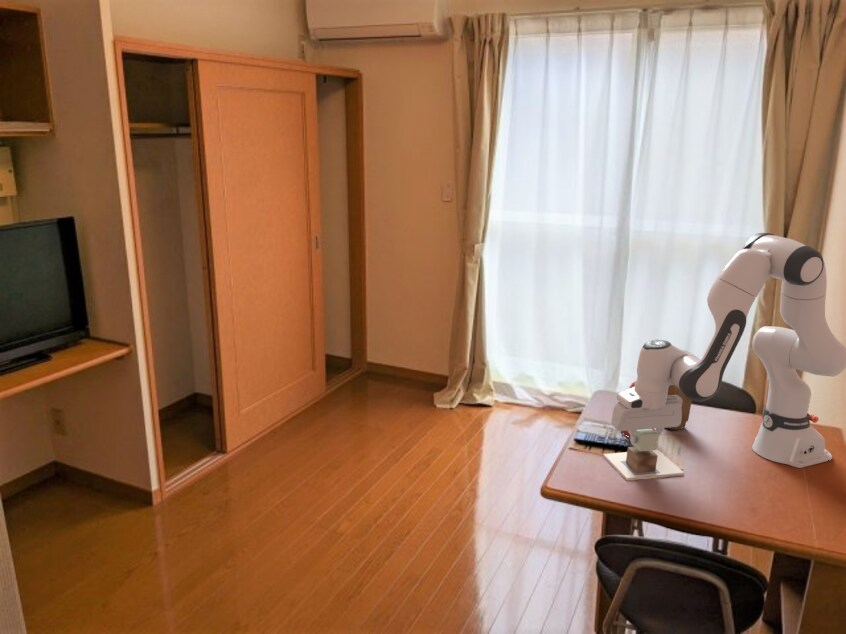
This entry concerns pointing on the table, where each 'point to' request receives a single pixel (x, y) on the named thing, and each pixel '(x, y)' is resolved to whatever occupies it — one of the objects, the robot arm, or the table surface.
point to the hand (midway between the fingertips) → (643, 441)
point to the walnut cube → (641, 460)
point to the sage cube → (646, 439)
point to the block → (685, 405)
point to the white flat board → (662, 470)
